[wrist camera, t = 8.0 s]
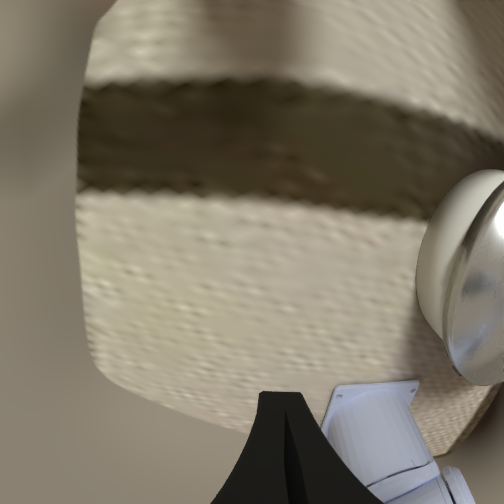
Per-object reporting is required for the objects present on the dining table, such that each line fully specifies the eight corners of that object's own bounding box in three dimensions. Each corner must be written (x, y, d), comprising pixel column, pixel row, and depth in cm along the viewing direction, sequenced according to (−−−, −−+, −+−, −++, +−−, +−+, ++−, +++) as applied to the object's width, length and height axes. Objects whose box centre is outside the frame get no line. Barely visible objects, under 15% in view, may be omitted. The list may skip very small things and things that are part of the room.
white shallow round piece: (502, 342, 21) (527, 367, 17) (390, 354, 21) (411, 391, 17) (546, 175, 16) (581, 184, 12) (435, 132, 16) (477, 130, 12)
